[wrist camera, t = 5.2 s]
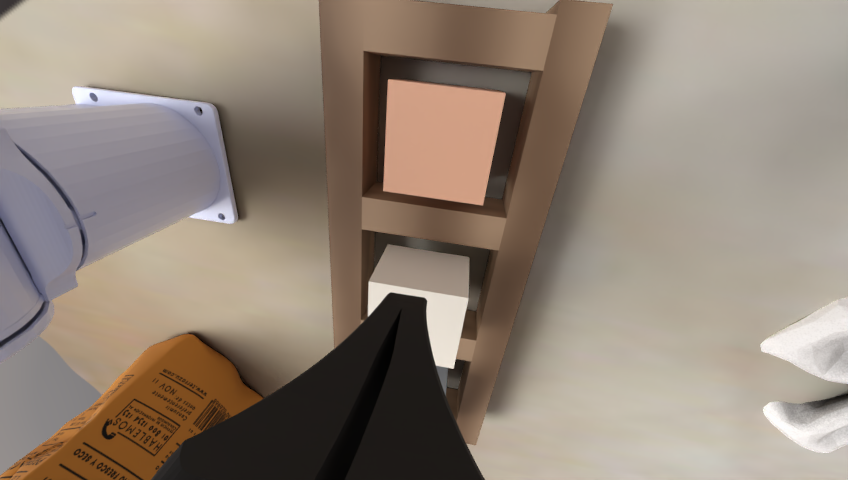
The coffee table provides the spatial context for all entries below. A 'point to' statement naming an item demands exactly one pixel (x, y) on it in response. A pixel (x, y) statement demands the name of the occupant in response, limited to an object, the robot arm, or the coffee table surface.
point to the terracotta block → (440, 139)
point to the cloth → (821, 356)
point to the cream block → (427, 292)
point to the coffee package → (142, 416)
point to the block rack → (435, 218)
